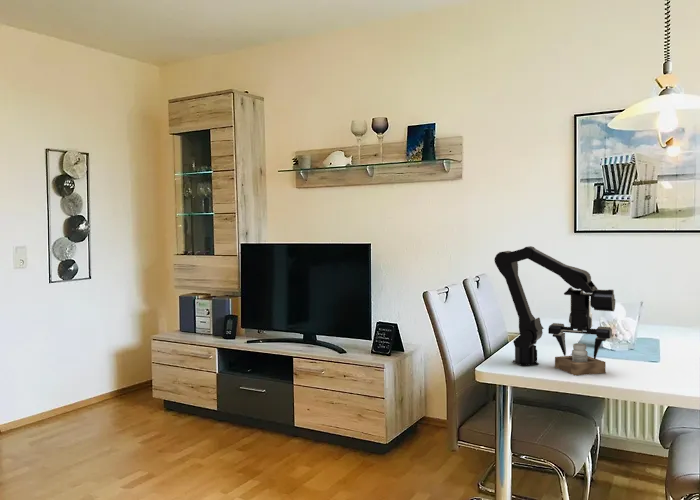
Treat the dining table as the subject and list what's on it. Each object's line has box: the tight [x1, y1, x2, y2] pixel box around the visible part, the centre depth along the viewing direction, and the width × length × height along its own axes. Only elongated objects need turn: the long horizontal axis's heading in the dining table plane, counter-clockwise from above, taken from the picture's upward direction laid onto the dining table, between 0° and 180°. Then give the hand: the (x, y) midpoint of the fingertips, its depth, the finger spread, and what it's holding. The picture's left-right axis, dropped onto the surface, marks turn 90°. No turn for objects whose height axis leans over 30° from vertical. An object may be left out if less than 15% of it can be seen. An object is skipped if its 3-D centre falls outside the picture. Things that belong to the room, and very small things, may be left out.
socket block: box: [554, 355, 606, 376], centre depth 196 cm, size 11×11×4 cm
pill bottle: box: [571, 342, 589, 362], centre depth 196 cm, size 5×5×8 cm
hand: (579, 356), depth 196 cm, fingers open, 9 cm apart
